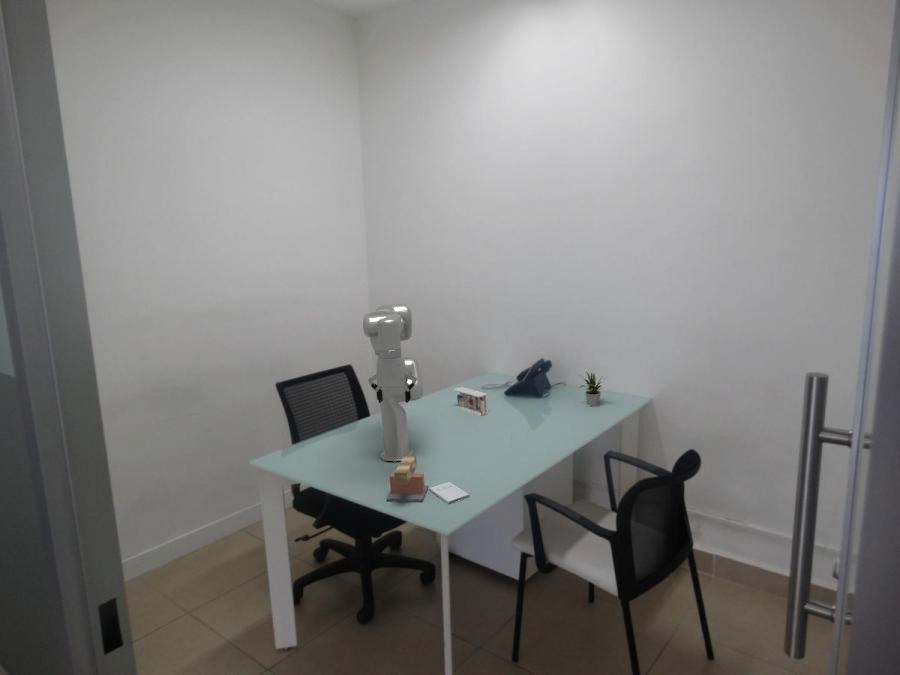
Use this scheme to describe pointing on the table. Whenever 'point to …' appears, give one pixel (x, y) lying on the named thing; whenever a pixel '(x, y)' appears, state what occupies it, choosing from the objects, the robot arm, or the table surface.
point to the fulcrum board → (408, 496)
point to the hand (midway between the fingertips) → (394, 401)
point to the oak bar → (405, 469)
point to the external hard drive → (449, 492)
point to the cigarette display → (472, 400)
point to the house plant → (592, 391)
